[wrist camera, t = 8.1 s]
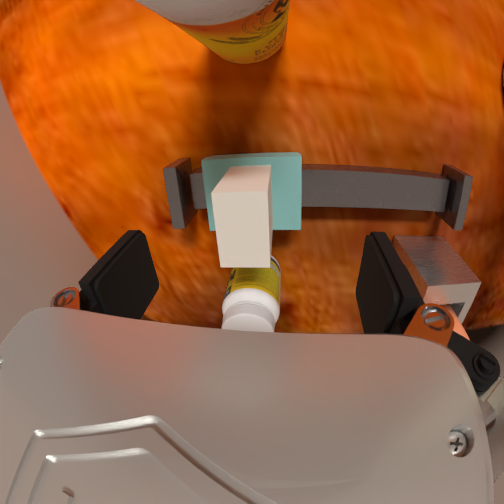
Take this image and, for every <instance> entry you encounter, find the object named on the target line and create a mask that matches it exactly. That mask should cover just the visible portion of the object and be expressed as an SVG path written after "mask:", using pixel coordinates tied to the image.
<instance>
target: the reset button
mask: <svg viewBox="0 0 504 504" xmlns="http://www.w3.org/2000/svg"><path fill="white" fill-rule="evenodd" d="M440 306H442V307H444V308H446V309H447V310H448V311H449V312H450V313H451V315H452V316H453V318H454V322H455V323H454V328H453V331H455V332H456V333H458V334H460V335H462V336H463V337H465V338H467V339H468V340H470V339H469V337H468V335H467V333H466V332H465V330H464V328H463V326H462V324H461V323H460V321H459V319H458V317H457V316H456V314H455V312H454V310H453V309H452V307H451V306H450V305H449V304H444V305H440Z"/></svg>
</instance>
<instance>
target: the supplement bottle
mask: <svg viewBox="0 0 504 504" xmlns="http://www.w3.org/2000/svg"><path fill="white" fill-rule="evenodd" d="M280 275H281V271H280V266H279V264H278V262H277V260H276V259H275V258H274V257H273V256H272V255H271V263H270V268H246V267H232V270H231V274H230V278H229V282H228V285H227V289H226V293H225V297H224V300H223V305H222V311H223V315H224V316H223V322H222V329H227V330H241V331H257V332H274V329H275V323H276V322H277V320H278V318H279V313H280V278H281V277H280Z"/></svg>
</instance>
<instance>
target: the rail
mask: <svg viewBox="0 0 504 504" xmlns="http://www.w3.org/2000/svg"><path fill="white" fill-rule="evenodd" d="M163 172H164V178H165V185H166V191H167V196H168V202H169V208H170V213H171V218H172V224H173V229H185V228H186V226H187V225H188V224H189V222H190V221H191V219H192V218H193V216H194V215H195V214H196V212H197V209H206V208H207V204H206V196H205V188H204V180H203V172H202V168H196V169H195V170H194V171H193V172H192V170H191V162H190V158H181V159H178V160H176V161H174V162H173V163H171V164H169V165H168V166H166V167H165V168H163ZM472 179H473V177H472V176H470V175H469V174H467V173H465V172H463V171H461V170H459V169H457V168H455V167H453V166H451V165H445V164H444V167H443V175H442V176H441V175H440V174H436V173H428V172H420V171H412V170H402V169H392V168H380V167H366V166H349V165H323V164H302V198H301V207H358V208H386V209H407V210H424V211H436V214H437V215H438V216H439V217H440V218H442V219H443V220H444V221H445V222H446V223H447V224H448V225H449V226H450V227H451V228H452V229H453V230H462V227H463V223H464V219H465V215H466V210H467V206H468V201H469V196H470V190H471V185H472Z"/></svg>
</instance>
